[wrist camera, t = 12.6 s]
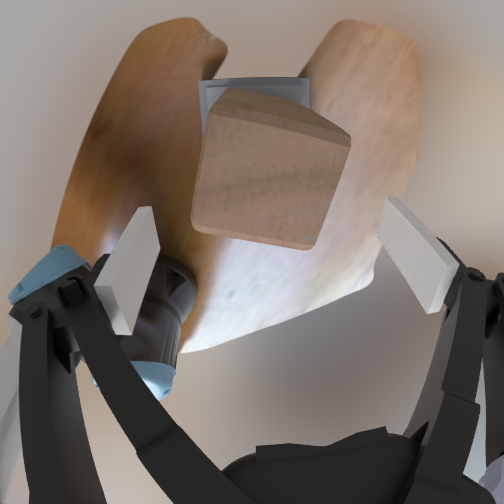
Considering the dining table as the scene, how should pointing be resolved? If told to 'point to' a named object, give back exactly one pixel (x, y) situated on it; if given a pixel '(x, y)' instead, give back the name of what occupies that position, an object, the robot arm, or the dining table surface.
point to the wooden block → (267, 170)
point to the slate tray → (254, 90)
